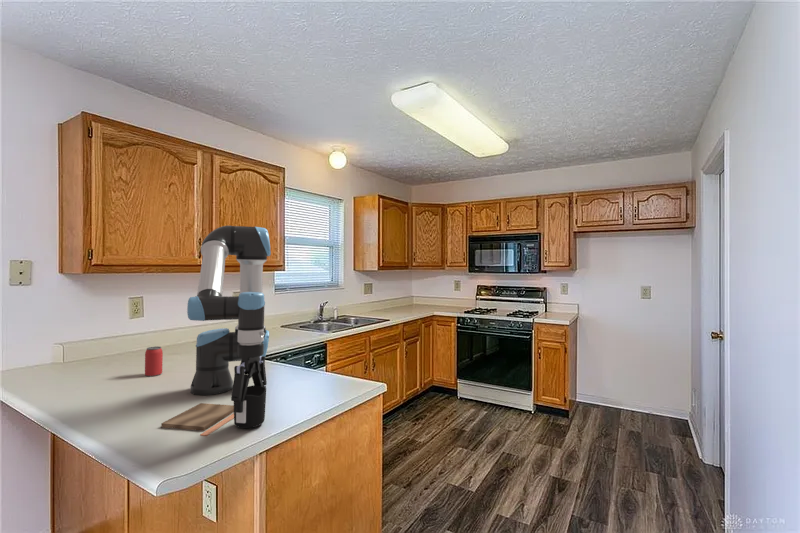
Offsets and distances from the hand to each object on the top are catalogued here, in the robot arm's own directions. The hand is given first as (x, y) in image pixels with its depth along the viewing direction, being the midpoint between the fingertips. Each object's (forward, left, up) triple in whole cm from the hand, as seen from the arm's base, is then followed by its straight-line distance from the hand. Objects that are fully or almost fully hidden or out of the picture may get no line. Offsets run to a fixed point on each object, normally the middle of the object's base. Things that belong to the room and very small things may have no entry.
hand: (249, 416), depth 120 cm
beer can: (-71, +44, -3) cm, 83 cm away
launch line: (-9, +3, -3) cm, 10 cm away
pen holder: (0, 0, -2) cm, 2 cm away
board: (-18, +3, -3) cm, 18 cm away
